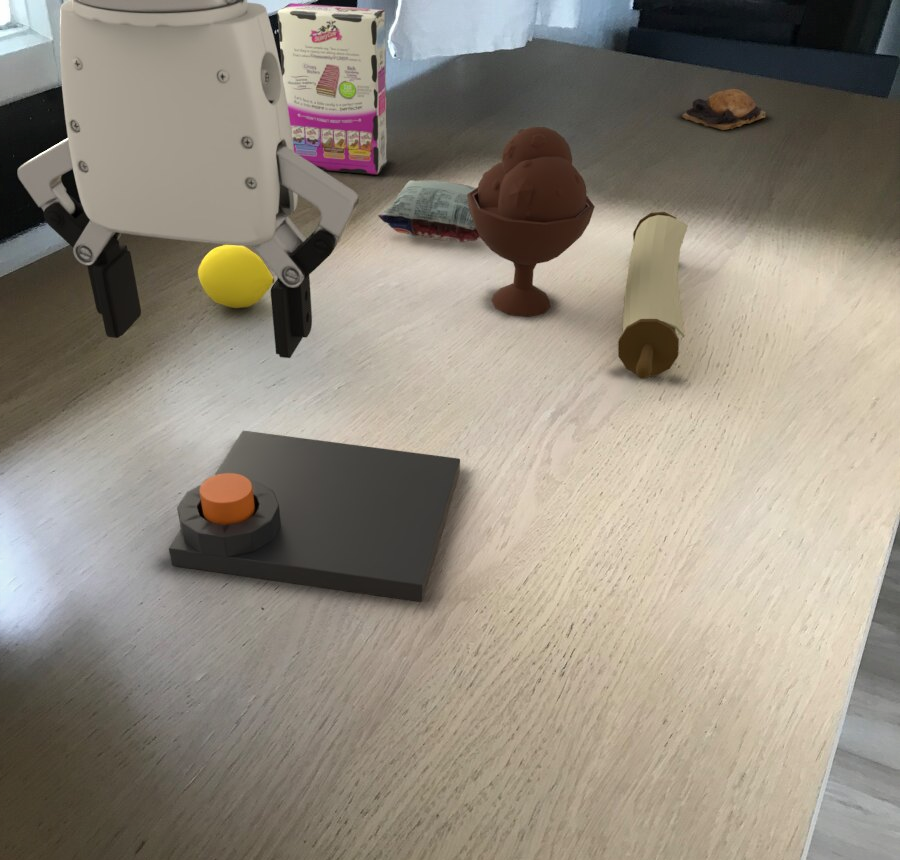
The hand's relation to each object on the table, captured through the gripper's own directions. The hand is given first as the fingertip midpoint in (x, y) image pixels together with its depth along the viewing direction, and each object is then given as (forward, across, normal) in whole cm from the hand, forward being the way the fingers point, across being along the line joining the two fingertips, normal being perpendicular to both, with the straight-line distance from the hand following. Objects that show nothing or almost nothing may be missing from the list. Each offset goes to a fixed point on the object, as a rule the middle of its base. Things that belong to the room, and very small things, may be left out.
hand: (207, 336), depth 54 cm
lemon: (+15, +11, -33) cm, 38 cm away
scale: (+14, -5, -4) cm, 16 cm away
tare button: (+12, 0, 0) cm, 12 cm away
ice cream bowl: (+15, -14, -40) cm, 45 cm away
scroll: (+15, -26, -41) cm, 50 cm away
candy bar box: (+14, +12, -72) cm, 74 cm away
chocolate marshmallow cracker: (+15, -35, -107) cm, 113 cm away
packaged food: (+15, -4, -55) cm, 57 cm away
